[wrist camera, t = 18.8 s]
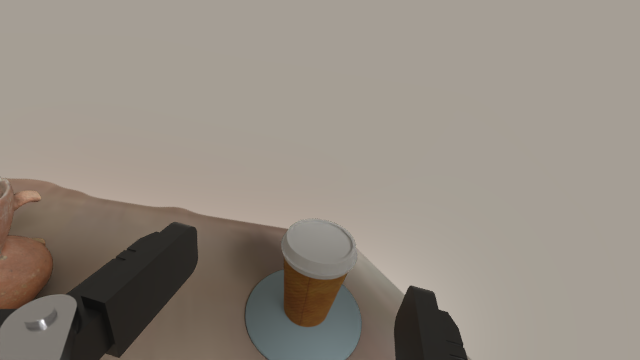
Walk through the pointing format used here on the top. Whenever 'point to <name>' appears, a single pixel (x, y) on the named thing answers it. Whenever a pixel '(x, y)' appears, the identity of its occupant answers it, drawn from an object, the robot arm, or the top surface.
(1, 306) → the ceramic jug
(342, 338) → the mat
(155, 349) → the top surface
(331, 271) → the disposable coffee cup
